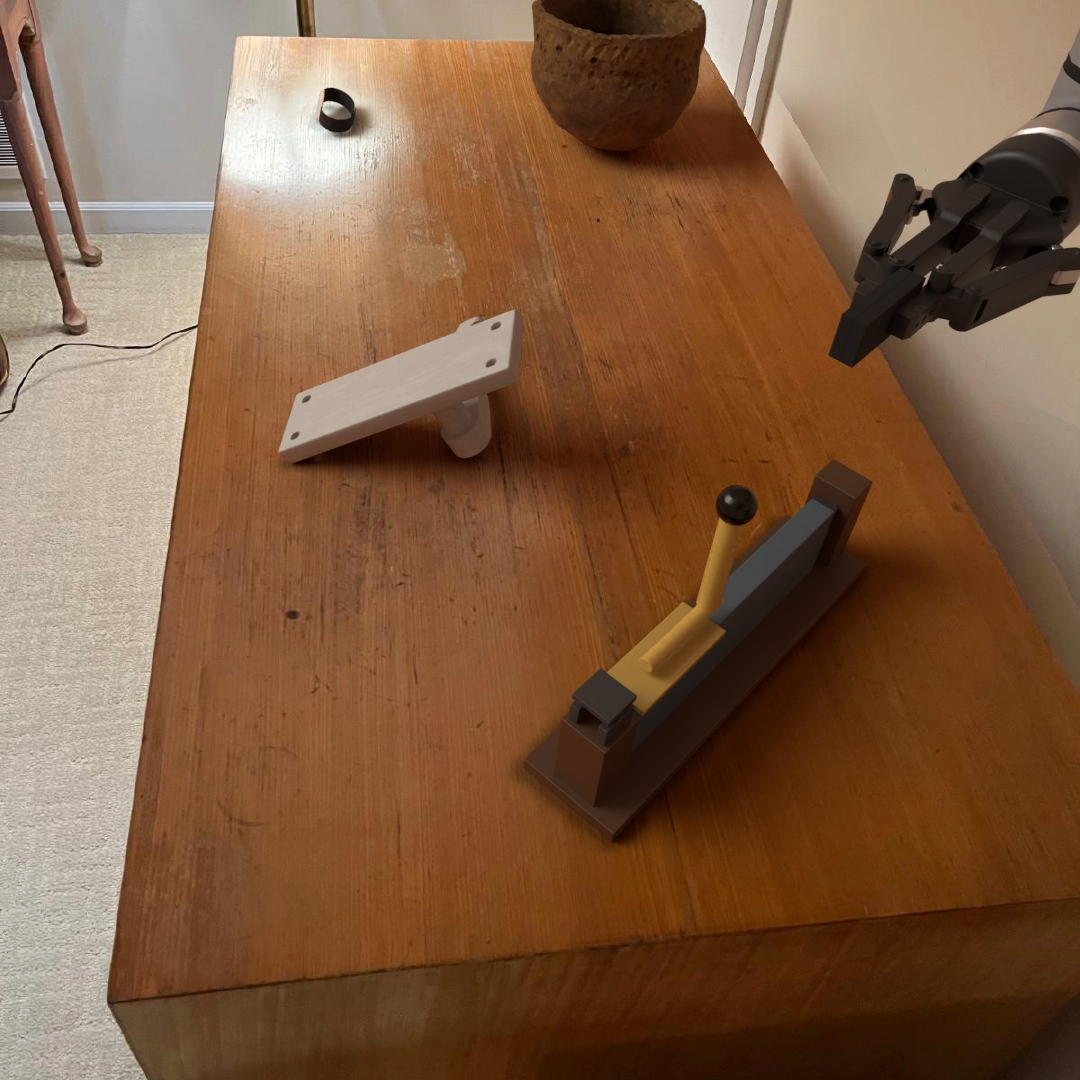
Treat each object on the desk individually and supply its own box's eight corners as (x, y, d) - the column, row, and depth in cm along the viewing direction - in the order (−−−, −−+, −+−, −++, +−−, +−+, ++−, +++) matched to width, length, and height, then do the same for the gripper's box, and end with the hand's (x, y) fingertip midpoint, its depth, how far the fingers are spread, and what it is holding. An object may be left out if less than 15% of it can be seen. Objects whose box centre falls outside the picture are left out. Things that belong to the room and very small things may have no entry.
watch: (317, 106, 119) (313, 75, 117) (357, 106, 120) (355, 75, 117) (314, 137, 114) (310, 105, 112) (356, 137, 115) (354, 106, 112)
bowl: (528, 97, 124) (536, -36, 113) (681, 110, 125) (703, -22, 114) (520, 172, 112) (528, 30, 101) (690, 186, 112) (717, 46, 101)
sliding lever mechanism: (782, 523, 78) (815, 429, 71) (863, 572, 75) (905, 480, 68) (522, 767, 62) (531, 678, 55) (611, 842, 59) (632, 758, 52)
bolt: (701, 592, 62) (735, 470, 55) (730, 612, 61) (769, 491, 54) (628, 659, 58) (654, 538, 51) (659, 682, 57) (690, 562, 50)
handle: (337, 518, 83) (559, 445, 75) (276, 452, 77) (508, 367, 70) (372, 379, 94) (567, 304, 87) (321, 313, 89) (524, 227, 82)
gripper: (1102, 282, 66) (934, 454, 54) (922, 204, 72) (731, 344, 59) (1161, 173, 61) (989, 337, 48) (961, 98, 66) (760, 228, 54)
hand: (847, 341), depth 54 cm, fingers closed
